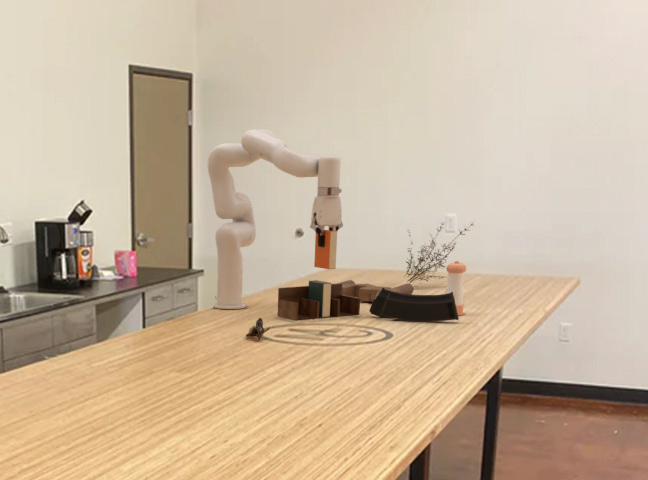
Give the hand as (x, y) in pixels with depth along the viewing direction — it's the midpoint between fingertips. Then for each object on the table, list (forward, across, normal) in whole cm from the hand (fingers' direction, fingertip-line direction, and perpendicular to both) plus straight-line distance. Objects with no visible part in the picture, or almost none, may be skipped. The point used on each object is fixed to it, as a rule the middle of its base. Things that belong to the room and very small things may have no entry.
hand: (325, 245), depth 376 cm
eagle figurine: (+25, +44, +29) cm, 59 cm away
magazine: (+25, -24, +22) cm, 41 cm away
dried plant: (+25, -92, -56) cm, 111 cm away
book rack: (+25, +2, 0) cm, 25 cm away
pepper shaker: (+25, -46, +15) cm, 55 cm away
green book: (+24, +2, 0) cm, 24 cm away
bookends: (+25, -45, -36) cm, 63 cm away
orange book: (+8, 0, 0) cm, 8 cm away
